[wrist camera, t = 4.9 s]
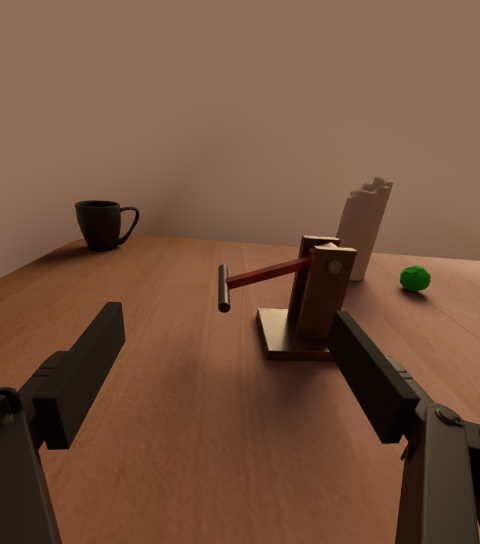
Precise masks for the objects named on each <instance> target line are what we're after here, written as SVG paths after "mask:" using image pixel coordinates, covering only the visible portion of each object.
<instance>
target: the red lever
mask: <svg viewBox="0 0 480 544" xmlns="http://www.w3.org/2000/svg"><path fill="white" fill-rule="evenodd" d="M320 246H324V247H337V246H336V245H334V244H333V243H327V244H324V245H320ZM313 248H314V247H313ZM313 248H309V249H308V250H309V256H307V257H304V258H300V259H296V260H293V261H289V262H285V263H282V264H278V265H274V266H271V267H267V268H263V269H260V270H256V271H252V272H248V273H245V274H241V275H237V276H234V277H230V278H228V268H227V266H226V265H220V266H219V280H218V309H219V311H220V312H223V313H226V312H228V311H229V310H230V294H229V290H230V289H234V288H237V287H241V286H245V285H248V284H252V283H256V282H259V281H263V280H267V279H271V278H274V277H278V276H282V275H285V274H289V273H293V272H297V271H300V270H304V269H308V268H309V266H310V262H311V257H312V252H313Z"/></svg>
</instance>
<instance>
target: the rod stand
mask: <svg viewBox="0 0 480 544" xmlns="http://www.w3.org/2000/svg"><path fill="white" fill-rule="evenodd" d="M340 241H341V240H340V239H338V238H331V237H317V236H302V241H301V246H300V251H299V256H298V259H300V258H304V257H307V256H309V250H308V249H309V248H313V247H314V248H313V252H312V257H311V262H310V266H309V268H308V269H304V270H300V271H297V272H295V277H294V282H293V288H292V293H291V298H290V303H289V309H267V308H258V309H257V319H258V323H259V328H260V332H261V336H262V340H263V344H264V348H265V353H266V357H267V360H314V361H334V359H333V357H332V355H331V354H330V352H329V350H328V348H327V347H326V342H327V338H328V335H329V331H330V327H331V324H332V320H333V316H334V313H335V311H340V310H341V307H342V303H343V300H344V296H345V293H346V289H347V286H348V282H349V279H350V275H351V272H352V268H353V265H354V261H355V258H356V254H357V251H356V250H355V249H353V248H339V245H340ZM327 243H333V244H334V245H336V246H337V247H324V246H320V245H324V244H327Z"/></svg>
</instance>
